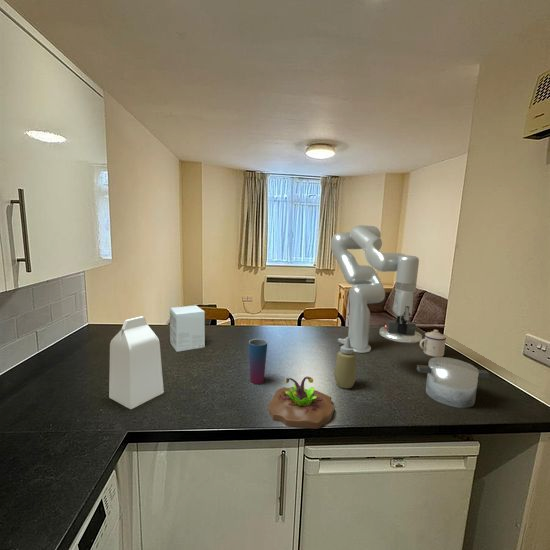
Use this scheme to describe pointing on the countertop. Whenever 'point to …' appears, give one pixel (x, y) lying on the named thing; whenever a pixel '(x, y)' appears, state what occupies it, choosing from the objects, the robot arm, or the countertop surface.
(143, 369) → the milk
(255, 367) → the cup
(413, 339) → the lid
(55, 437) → the countertop surface
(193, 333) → the supplement box
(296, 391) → the plant
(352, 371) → the squeeze bottle
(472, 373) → the pot
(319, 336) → the countertop surface
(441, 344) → the teacup with lid
